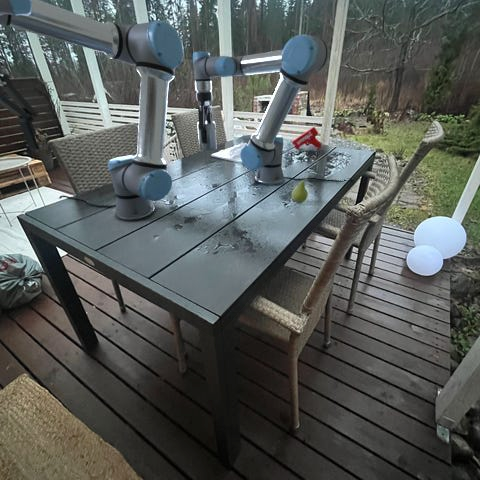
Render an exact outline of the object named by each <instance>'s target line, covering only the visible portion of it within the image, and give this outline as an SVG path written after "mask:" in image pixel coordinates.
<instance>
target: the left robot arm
mask: <svg viewBox="0 0 480 480" xmlns="http://www.w3.org/2000/svg"><path fill="white" fill-rule="evenodd" d="M0 25H1V26H6V27H10V28H14V29H18V30H21V31H24V32H28V33H32V34H35V35H39V36H42V37H47V38H49V39H52V40H56V41H59V42H60V41H61V42H63V43H68V44H71V45H75V46H77V47H82V48H85V49H88V50H93V51H96V52H100V53H104V54H105V56H106V57H107V58H109V59H112V60H115V61H118V62H122V63H124V64H127V65H131V66H134V67H135V69H136V71H137V72H138V74H139V76H140V86H139V87H140V89H139V108H138V130H137V131H138V133H137V151H136V154H132V155H124V156H123V155H122V156H118V157H115V158H114V157H113V158H112V159H110V160H108V161H107V169H108V172H109V176H110V180H111V183H112V187H113V190H114V193H115V197H116V202H115V204H110V205H109V204H95V203H91V202H90V201H89V200H87V199H85V198H81V197H72V196H68V195H64V194H63V195H60V196H59V197H58V199H62V198H66V199H70V200H77V201H82V202H86V203H87V204H88V205H90V206H92V207H98V208H115V215H116V218H117V219H119V220H120V221H125V222H127V221H128V222H132V221H133V222H134V221H140V220H144V219H146V218H148V217H151V216H152V215H153V214H154V213H155V210H156V209H155V205H154V202H157V201H161V200H163V199H165V197H166V196H168V195H169V193H170V191H171V189H172V185H173V179H172V176H171V175H170V173H169V172H168V171H167V169H168V167H167V166H168V163H167V162H166V159H164V150H165V137H166V125H167V124H166V122H167V109H168V96H169V84H170V82H172V80H174V78H175V70H176V68H178V67H179V66H180V65H181V64H182V62H183V59H184V45H183V42H182V39H181V37H180V36H179V32H178V30H177V29H176V28H175V27H174V26H173V25H172V24H170V23H169V22H167V21H164V20H151V21H149V22H143V23H142V22H141V23H134V24H119V23H116V22H112V21H109V20H108V21H106V22H105V23H104V22H102V21H98V20H96V19H93V18H91V17H88V16H85V15H82V14H79V13H76V12H74V11H70V10H68V9H64V8H62V7H59V6H57V5H53V4H51V3H48V2H45V1H43V0H0ZM0 87H1V88H2V89H3V90H4V92H6V94H7V95H8V96H9V97H10V99H12V100H13V101H12V100H10V99H9V98H8V97H7V96H5V94H3V92H1V91H0V105H1V106H3V107H4V108H5V109H7V111H9V112H11V113H12V114H13V115H15V116H16V117H17V118H19V119H20V120H19V121H18V124H19V127H20V130H21V132H22V134H23V136H24V139H25V141H26V143H27V146H28V148H29V149H31V150H39V149H40V146H39V144H38V141H37V138H36V136H35V135H36V134H37V131H36V129H35V126H34V120H35V118H37V117H38V115H39V114H38V112H37V111H36V110H35V108H34V107H33V106H32V105H31V104H30V103H29V102H28V101H27V100H26V98H25V97H24V96H23V95H22V94H21V93H20V91H19V90H18V89H17V88H16V87H15V86H14V85H13V82H12V81H11V79H10V77H9V75H7V74H6V73H4V74H3V73H0Z"/></svg>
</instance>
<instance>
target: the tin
mask: <svg viewBox="0 0 480 480" xmlns="http://www.w3.org/2000/svg"><path fill="white" fill-rule="evenodd" d="M196 125H197V134H198V135H197V136H198V146H199V150H200V151H202V152H212V151H216V150H218V149H217V148H218V147H217V129H216V128H217V127H216V121H214V120H213V121H207V120H206V130H207V144H204V143H202V139H201V130H199V121H198V122H197V123H196Z"/></svg>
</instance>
